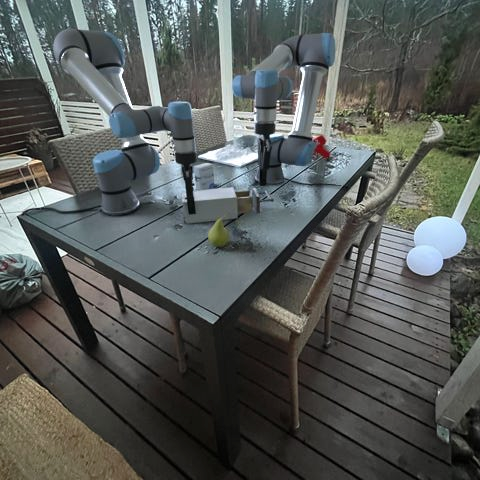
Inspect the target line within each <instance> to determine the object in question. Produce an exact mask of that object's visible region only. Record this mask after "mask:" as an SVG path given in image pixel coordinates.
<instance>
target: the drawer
mask: <svg viewBox="0 0 480 480" xmlns="http://www.w3.org/2000/svg"><path fill="white" fill-rule="evenodd" d="M234 191H235V194H236V196H237V212H238V214H247V213H253V212H254V210H255V213H256V214H260V213H261V203H264V202H270V203H274V201H275V200H274V198H273V196H272V195H271V193H270V192H269V190H265V191H257V189H256V187H252V188H251V191H250V189H244V190H234ZM250 193H251V195H250ZM262 194H265V195H266V197H267V199H261V196H260V195H262Z"/></svg>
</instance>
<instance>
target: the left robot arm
mask: <svg viewBox="0 0 480 480" xmlns="http://www.w3.org/2000/svg"><path fill="white" fill-rule="evenodd" d="M52 49H53V55H54V57H55V60H56V62H57V64H58V65H59V66H60V68H61V69H62V70H63V71H64V72H65V74H67V75H68V76H70V77H73V78H74V79H75V80H76V82H78V84H79V85H80V86H81V87H82V88H83V89H84V90H85V91H86V92H87V94H88V95H89V96H90V97H91V98H92V99H93V100H94V101H95V102H96V104H97V105H98V106H99V107H100V108H101V109H102V110H103V112H104V113H105V114H106V115H107V116H108V123H109V127H110V129H111V130H112V133H113V134H114V136H115V137H117V138H119V139H120V140H121V142H122V145H121V147H120V149H111V150H105V151H103V152H100V153H98V154H96V155H95V156H94V157H93V159H92V165H93V172H94V173H95V176H96V179H97V183H98V185H99V189H100V192H101V201H100V202H101V204H98V205H94V206H90V207H86V208H81V209H75V210H59V209H56V208H54V207H50V206H49V207H47V206H46V207H31V208H27V209H25V210H24V211H23V212H21V214H20V216H24V215H26V214H27V213H28V212H33V211H45V210H49V211H54V212H56V213H59V214H76V213H81V212H87V211H92V210H94V209H98V208H100V209H101V211H102V213H103V215H106V216H108V217H109V216H110V217H119V216H120V217H121V216H125V215H128V214H131V213H134V212H136V211H138V209H139V208H140V207H141V205H140V200H139V199H138V197H137V196H136V194H135V192H134V190H133V189H132V185H131V182H133V181H135V180H138V179H142V178H145V177H149V176H151V175H153V174H156V173H158V171H159V169H160V166H161V159H160V158H161V157H160V154H159V152H158V150H157V149H156V148H155V147H154V146H152V145H150V143H149V141H148V140H146V139H145V138H144V137H143V135H146V134H153V133H158V132H163V131H166V132H171V138H172V141H171V145H173V150H174V159H175V163H176V164H178V165H181V173H182V177H183V181H184V187H185V188H184V189H185V192H186V196H187V197H186V198H185V199H187V205H188V213H189V215H190V214H196V210H195V201H194V196H193V191H195V190H194V187H196V185H195V182H194V174H193V173H194V166H193V165H192V164H195V163H197V161H198V159H197V158H198V156H197V151H196V150H197V148H196V137H195V130H194V129H195V128H194V116H193V110H192V105H191V103H190V102H188V101H170V102H169V103H168V104H167V107H166V106H165V107H164V106H160V105H155V106H154V105H152V106H150V107H147V108H144V109H143V108H141V109H134V107H133V105H132V102H131V99H130V97H129V94H128V91H127V89H126V85H125V82H124V80H123V78H122V77H123V76H122V75H123V72H124V69H123V67H124V66H125V63H126V59H125V52H124V48H123V46H122V44H121V43H120V40H119V39H118V38H117V37H116V35H114V34H112V33H111V32H108V31H103V30H89V29H80V28H79V29H76V28H66V29H63V30H61V31H60V32H58V33H57V35H56V36H55V37H54V41H53V47H52ZM40 208H41V209H40Z"/></svg>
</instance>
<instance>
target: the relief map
mask: <svg viewBox="0 0 480 480" xmlns="http://www.w3.org/2000/svg"><path fill="white" fill-rule="evenodd" d="M197 158H198V159H202V160H206V161H210V162H213V163H218V164H223V165H226V166H227V165H228V166H232V167H235V168H236V167H237V168H242V167H245V166H247V165H249V164H252V163H254V162H257V161H258V152H254V151H253V150H252V149H251V148H250V147H245V148H243V149H242V148H239V147H237V145H236V144H234V143H233V144H231V143H229V144H227V145H226V146H223V147H221V148H218V149H216V150H209V151H207V152H206V153H203V154H200V155H198V156H197Z"/></svg>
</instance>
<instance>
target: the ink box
mask: <svg viewBox="0 0 480 480" xmlns="http://www.w3.org/2000/svg"><path fill="white" fill-rule="evenodd" d="M214 172H215V171H214V164H212V163H209V162H205V163H201V164H197V165H194V166H193V173H194V174H193V176H194V184H195V190H196V191H198V190H209V189H215V174H214Z"/></svg>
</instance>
